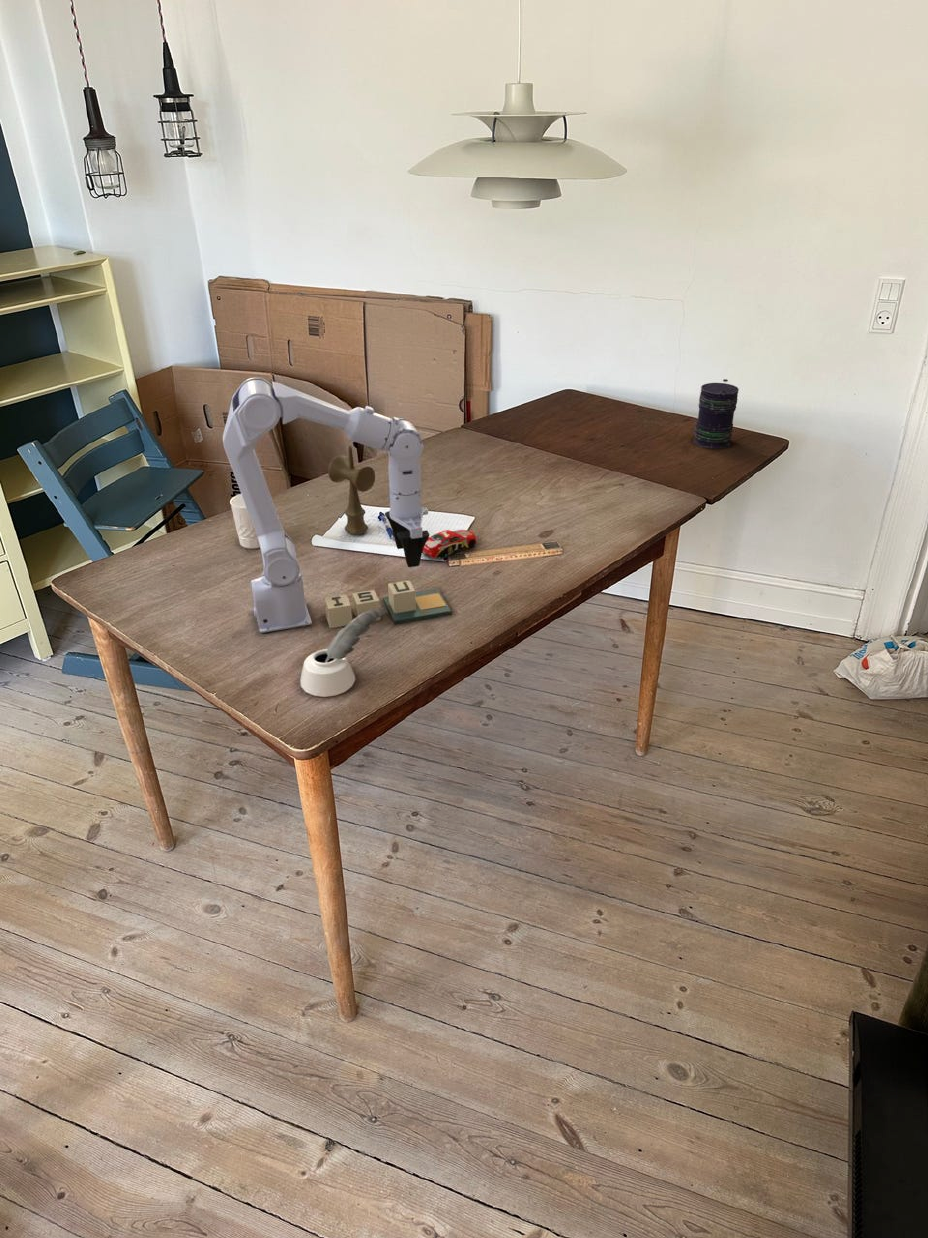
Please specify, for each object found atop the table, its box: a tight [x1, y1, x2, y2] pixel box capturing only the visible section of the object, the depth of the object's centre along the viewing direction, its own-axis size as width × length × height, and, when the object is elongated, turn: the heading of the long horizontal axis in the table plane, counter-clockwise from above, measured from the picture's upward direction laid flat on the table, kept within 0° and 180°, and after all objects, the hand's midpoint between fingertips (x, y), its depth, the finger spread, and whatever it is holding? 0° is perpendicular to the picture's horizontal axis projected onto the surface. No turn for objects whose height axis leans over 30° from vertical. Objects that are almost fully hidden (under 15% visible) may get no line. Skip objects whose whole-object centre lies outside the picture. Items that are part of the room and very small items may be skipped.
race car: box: [422, 529, 477, 559], centre depth 188 cm, size 13×5×4 cm, turn 127°
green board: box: [382, 588, 452, 625], centre depth 168 cm, size 11×9×1 cm
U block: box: [387, 580, 416, 614], centre depth 166 cm, size 4×4×4 cm
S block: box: [351, 589, 381, 621], centre depth 165 cm, size 4×4×4 cm
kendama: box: [327, 445, 376, 536], centre depth 191 cm, size 6×10×20 cm, turn 47°
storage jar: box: [693, 378, 740, 449], centre depth 237 cm, size 10×10×18 cm
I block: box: [323, 594, 353, 629], centre depth 163 cm, size 4×4×4 cm
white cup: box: [229, 493, 260, 549], centre depth 190 cm, size 8×8×10 cm
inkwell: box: [299, 608, 389, 698], centre depth 148 cm, size 9×18×10 cm, turn 135°
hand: (407, 556), depth 165 cm, fingers open, 7 cm apart
